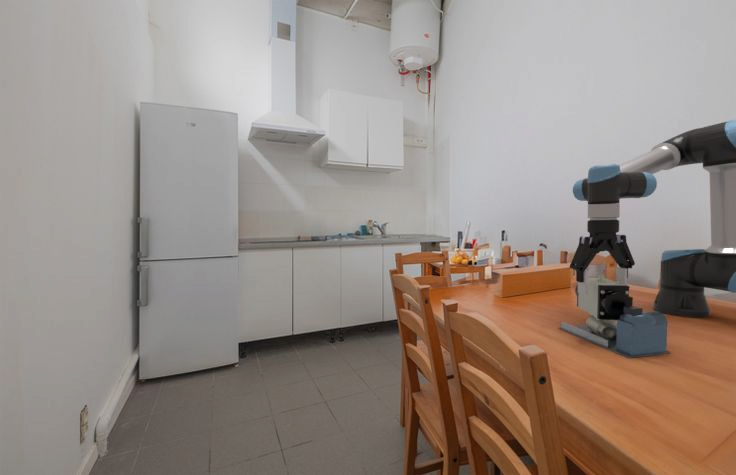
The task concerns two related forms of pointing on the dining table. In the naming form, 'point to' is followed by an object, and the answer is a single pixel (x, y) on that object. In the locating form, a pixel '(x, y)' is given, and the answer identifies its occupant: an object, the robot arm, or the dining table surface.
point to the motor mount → (630, 333)
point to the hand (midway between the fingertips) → (602, 291)
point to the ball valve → (604, 304)
